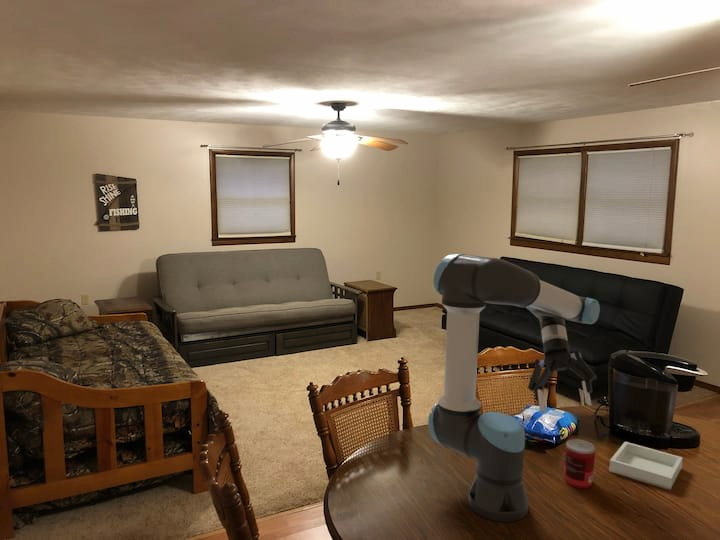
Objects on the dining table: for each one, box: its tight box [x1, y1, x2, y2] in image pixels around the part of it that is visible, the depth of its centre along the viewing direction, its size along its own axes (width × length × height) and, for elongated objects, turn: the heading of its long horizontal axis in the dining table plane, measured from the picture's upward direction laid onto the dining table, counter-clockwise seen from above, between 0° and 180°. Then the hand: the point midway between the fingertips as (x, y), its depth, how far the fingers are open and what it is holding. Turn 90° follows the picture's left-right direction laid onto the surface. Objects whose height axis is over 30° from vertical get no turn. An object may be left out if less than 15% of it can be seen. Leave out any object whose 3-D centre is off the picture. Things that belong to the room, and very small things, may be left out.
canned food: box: [563, 438, 596, 489], centre depth 155 cm, size 8×8×11 cm
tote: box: [608, 441, 684, 491], centre depth 162 cm, size 16×16×4 cm
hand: (565, 407), depth 161 cm, fingers open, 13 cm apart
